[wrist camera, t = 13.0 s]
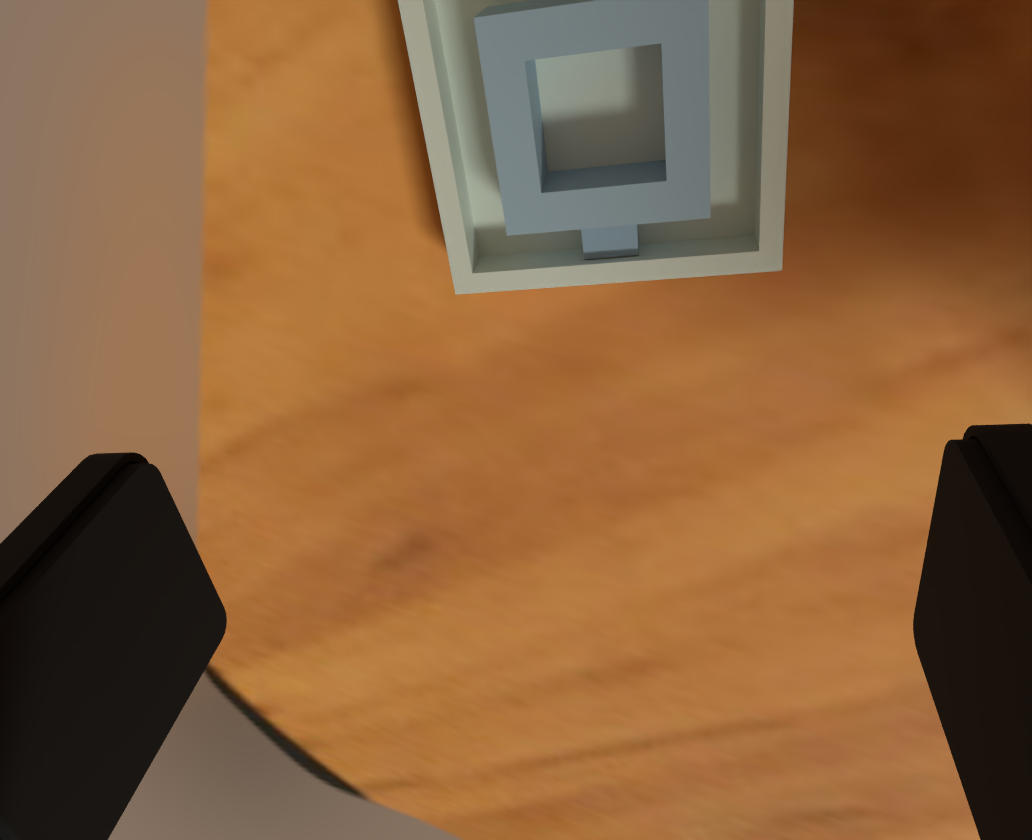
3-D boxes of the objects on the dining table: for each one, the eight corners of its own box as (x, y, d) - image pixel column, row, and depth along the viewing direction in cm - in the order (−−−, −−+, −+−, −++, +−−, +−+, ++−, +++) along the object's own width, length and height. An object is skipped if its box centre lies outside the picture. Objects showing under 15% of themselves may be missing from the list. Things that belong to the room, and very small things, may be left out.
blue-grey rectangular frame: (703, -25, 25) (708, -16, 23) (706, 236, 30) (710, 262, 28) (486, 6, 27) (473, 17, 25) (521, 252, 31) (513, 277, 29)
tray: (773, 244, 30) (781, 270, 29) (467, 269, 33) (455, 294, 31) (787, -136, 24) (799, -136, 22) (404, -73, 26) (384, -68, 24)
